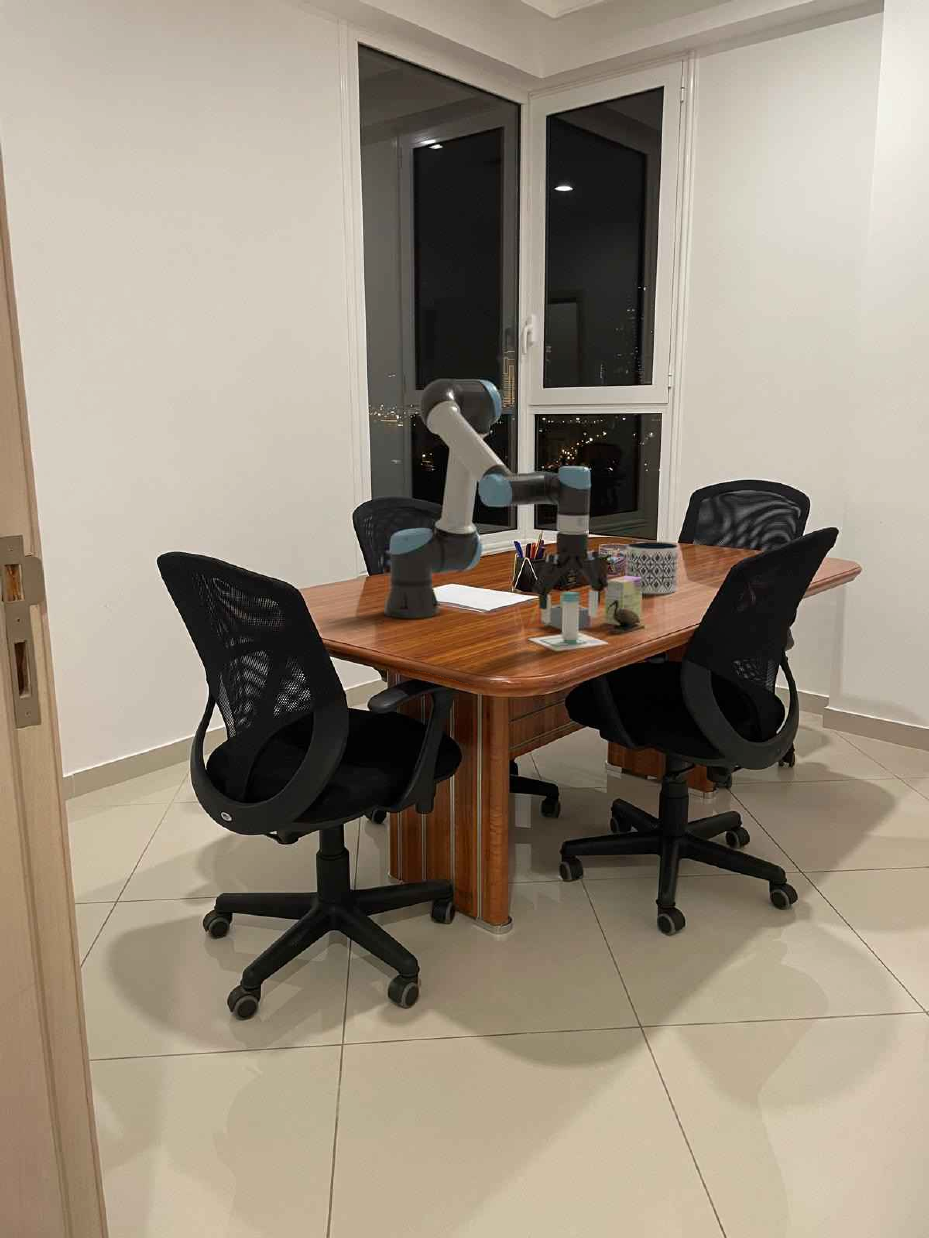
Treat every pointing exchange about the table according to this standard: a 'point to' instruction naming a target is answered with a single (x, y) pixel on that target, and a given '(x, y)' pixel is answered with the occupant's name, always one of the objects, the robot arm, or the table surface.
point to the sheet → (559, 645)
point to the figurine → (625, 620)
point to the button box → (557, 617)
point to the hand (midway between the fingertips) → (569, 619)
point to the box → (623, 596)
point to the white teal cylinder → (570, 617)
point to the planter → (653, 566)
